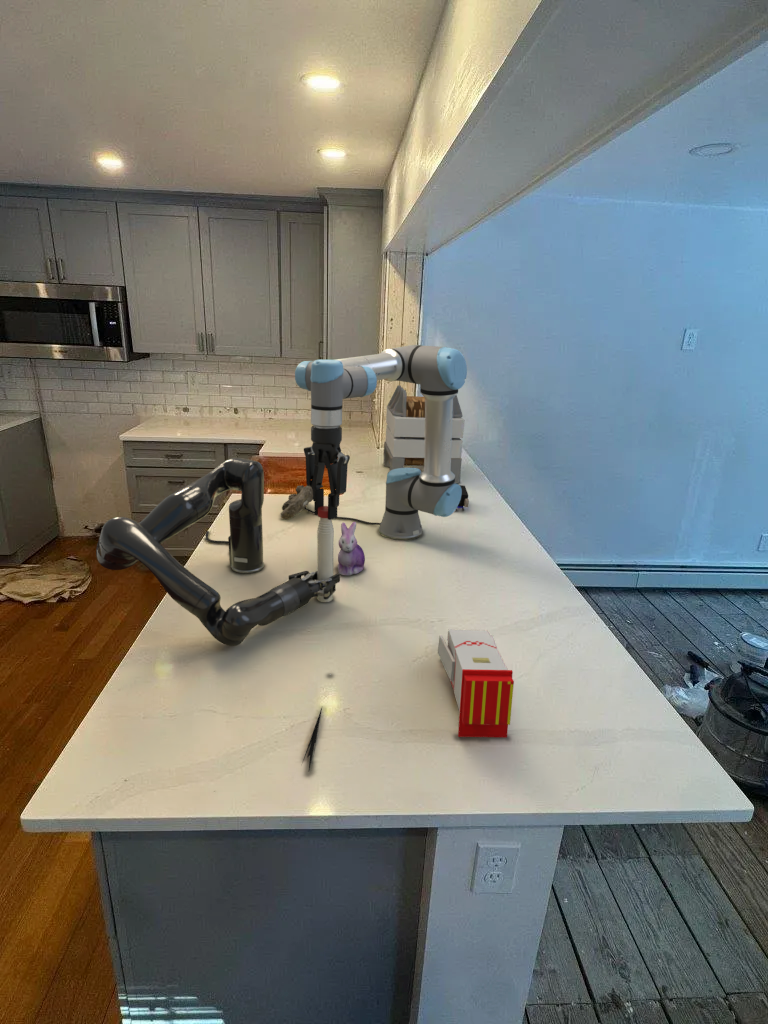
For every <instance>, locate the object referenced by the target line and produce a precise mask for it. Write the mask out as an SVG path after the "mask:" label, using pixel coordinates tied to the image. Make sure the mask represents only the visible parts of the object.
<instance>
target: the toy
mask: <svg viewBox="0 0 768 1024" xmlns="http://www.w3.org/2000/svg"><path fill="white" fill-rule="evenodd" d="M446 640H447V643H446V641H445V639H444V636H443V635H442V634H439V637H438V646H437V656H438V657H439V659H440V661H441V663H442V666H443V668H444V670H445V672H446V674H447V677H448V679H449V681H450V684H451V687H452V690H453V693H454V697H455V701H456V705H457V708H458V711H459V714H458V715H459V716H458V730H457V731H458V732H457V737H458V738H508V731H509V726H510V725H511V717H512V707H513V697H514V696H513V695H514V684H515V680H514V679H513V673H514V671H513V670H512V669H508V667H507V665H506V662H505V661H504V659H503V658H502V655H501V653H500V651H499V649H498V647H497V643H496V639H495V637H494V635H493V634H491V632H490V631H489V629H467V628H466V629H465V628H463V629H461V628H460V629H459V628H448V630H447V639H446Z"/></svg>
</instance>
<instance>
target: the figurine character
mask: <svg viewBox="0 0 768 1024" xmlns="http://www.w3.org/2000/svg"><path fill="white" fill-rule="evenodd" d="M459 485H460V487H461V489H462V495H461V499H460V502H459V505H458V506H457V508H456V510H455V511H456V512H457V511H458V509H461V511H462V512H464V511H465V508H469V505H470V500H469V492H468V490H467V488H466V485H464V484H463V485H461V484H459Z"/></svg>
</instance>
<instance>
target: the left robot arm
mask: <svg viewBox="0 0 768 1024" xmlns="http://www.w3.org/2000/svg"><path fill="white" fill-rule="evenodd" d="M264 471H265V470H264V468H263V464H261V462H259V461H257V460H255V459H248V458H242V457H230V458H228V459H226V460H224V461H223V462H221V463H220V464H219V465H218V466H216V467H215V468H213V469H212V470H211V471H209V472H207V473H206V474H205V475H203V476H201V477H200V478H198V479H195V480H193V481H192V482H190V483H189V484H187V485H184V486H182V487H181V488H179V489H176V490H175V491H174V492H172V493H170V494H169V495H167V496H166V497H165V498H163V499H162V500H161V501H160V502H159V503H158V504H157V505H156V506H155V507H154V508H153V509H152V510H151V511H150V512H149V513H148V514H147V515H146V517H144V518H143V519H142V520H141V521H139V522H138V521H137V520H134V519H133V518H130V517H127V516H115V517H112V518H110V519H108V520H107V521H106V522H105V523H104V524H103V526H102V528H101V531H100V533H99V537H98V540H97V543H96V549H95V551H96V552H95V556H96V560H97V562H98V563H99V565H100V566H101V567H103V568H105V569H106V570H111V571H122V570H125V569H129V568H131V567H133V566H134V565H135V564H137V563H139V562H140V563H141V564H143V565H144V567H146V568H147V569H148V570H149V571H150V573H152V574H153V576H154V577H155V578H156V579H157V581H158V582H159V584H160V586H161V587H162V588H163V589H164V591H165V592H166V594H168V596H169V597H170V598H171V599H172V600H173V601H174V602H175V603H177V604H178V605H179V606H180V607H182V608H184V609H185V610H186V611H187V612H188V613H190V614H192V615H193V616H195V617H196V618H197V620H199V622H200V623H201V624H202V626H203V627H204V628H205V629H206V630H207V631H208V632H209V633H210V634H211V636H212V637H213V638H214V640H216V641H218V642H219V643H220V644H222V645H225V646H228V647H236V646H239V645H241V644H242V643H243V642H244V641H245V640H246V638H247V637H248V636H249V634H250V633H251V631H252V630H253V629H254V628H256V627H257V626H260V627H263V626H269V625H270V624H272V623H274V622H276V621H277V620H279V619H281V618H283V617H286V616H289V615H291V614H292V613H294V612H295V611H298V610H300V609H301V608H303V607H305V606H306V605H308V604H309V602H310V601H311V600H312V599H313V598H317V596H318V595H320V596H324V599H325V600H327V599H328V598H329V597H330V596H331V595H332V594H333V595H334V593H335V592H336V590H337V589H336V585H337V584H338V583H340V582H341V574H339V572H337V573H335V574H333V576H331V577H329V578H328V579H324V580H323V579H319V580H317V570H316V571H311V572H309V570H303V571H301V572H295V573H292V574H289V575H288V579H287V580H286V581H284V582H282V583H280V584H279V585H276V586H274V587H273V588H271V589H270V590H268V591H266V592H264V593H262V594H260V595H258V596H257V597H254V598H248V599H244V600H239V601H237V602H235V603H234V604H232V605H230V606H229V607H228V608H227V609H226V610H225V609H224V608H223V607H222V606H221V594H220V593H219V592H218V591H217V590H216V589H214V588H213V587H211V586H210V585H209V584H207V583H206V582H205V581H203V580H202V579H201V578H199V577H198V576H196V575H195V574H194V573H192V572H191V571H190V570H189V569H188V568H186V567H185V566H184V565H183V564H182V563H181V562H179V561H178V560H177V559H176V558H175V557H174V556H173V555H172V554H171V553H170V552H169V551H168V550H167V549H166V548H165V547H164V546H163V545H162V544H163V543H164V542H166V541H168V540H169V539H171V538H173V537H174V536H176V535H177V534H179V533H180V532H183V531H184V530H186V529H187V528H189V527H191V526H193V525H194V524H196V523H197V522H199V521H200V520H202V519H204V518H205V517H206V516H207V515H208V514H209V513H210V512H211V510H212V509H213V507H214V503H215V500H216V498H217V497H218V496H220V495H222V494H223V493H225V492H227V491H231V490H233V491H239V492H241V493H240V495H241V496H240V497H241V499H236V500H234V501H231V502H230V503H229V505H228V518H229V519H228V520H229V536H228V538H227V540H213V539H211V538H209V533H210V531H209V530H206V532H205V535H204V536H206V537H205V540H206V541H207V542H209V543H212V544H226V545H228V557H229V567H230V568H231V570H232V571H233V572H236V573H239V574H253V573H257V572H260V571H261V570H264V569H263V568H264V567H265V563H264V540H263V539H264V538H263V513H262V512H263V505H264V501H265V498H264V497H265V472H264ZM302 576H303V577H302ZM326 583H327V586H325V584H326Z"/></svg>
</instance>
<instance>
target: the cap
mask: <svg viewBox="0 0 768 1024" xmlns="http://www.w3.org/2000/svg"><path fill="white" fill-rule="evenodd" d="M317 517H318V518H319V519H320V518H328V505H324V506H322V507H319V508H318V515H317Z"/></svg>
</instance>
